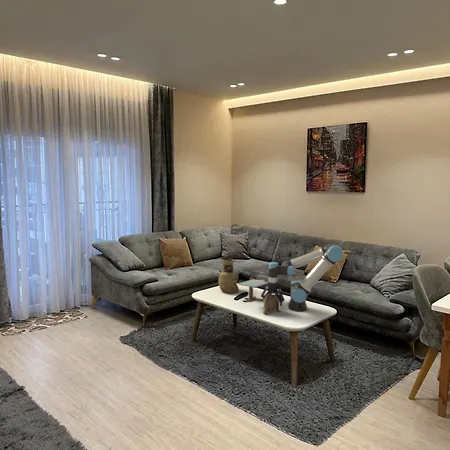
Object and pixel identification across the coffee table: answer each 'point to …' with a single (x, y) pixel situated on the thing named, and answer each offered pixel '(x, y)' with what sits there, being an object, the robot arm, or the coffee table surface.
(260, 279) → the trapdoor
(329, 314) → the coffee table surface
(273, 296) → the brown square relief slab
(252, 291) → the trapdoor frame
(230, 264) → the ceramic vessel
